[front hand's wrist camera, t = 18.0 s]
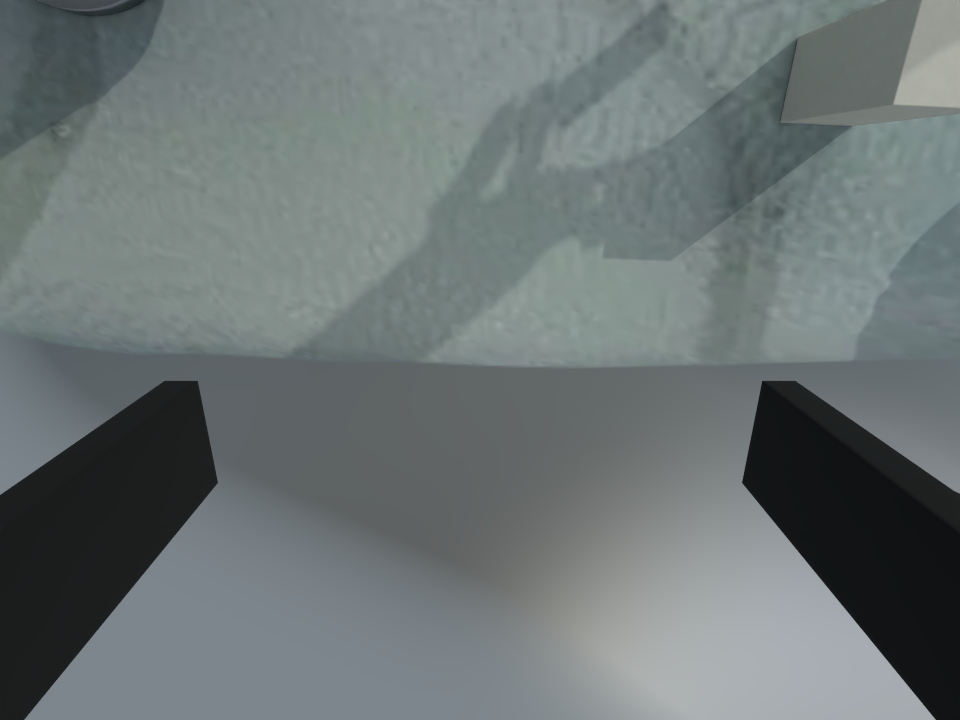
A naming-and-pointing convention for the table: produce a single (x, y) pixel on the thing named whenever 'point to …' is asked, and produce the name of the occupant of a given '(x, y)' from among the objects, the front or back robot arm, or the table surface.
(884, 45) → the block
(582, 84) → the table surface
